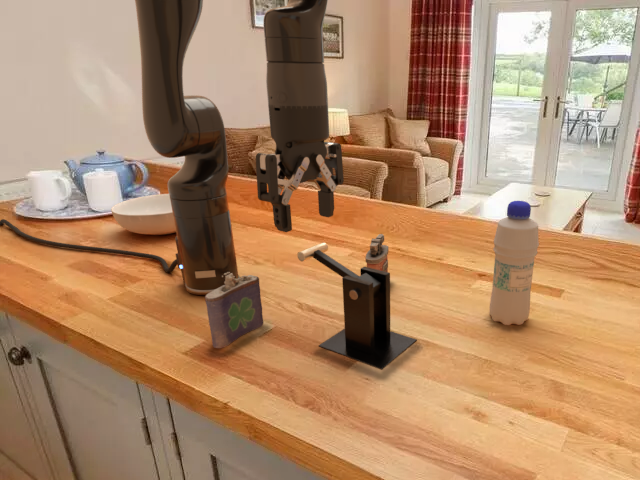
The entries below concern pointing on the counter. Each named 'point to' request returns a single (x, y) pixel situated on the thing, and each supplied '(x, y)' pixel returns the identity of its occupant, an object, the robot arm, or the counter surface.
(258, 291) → the flask
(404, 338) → the bracket
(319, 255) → the lever
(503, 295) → the bottle
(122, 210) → the serving bowl
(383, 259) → the lighter
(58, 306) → the counter surface
